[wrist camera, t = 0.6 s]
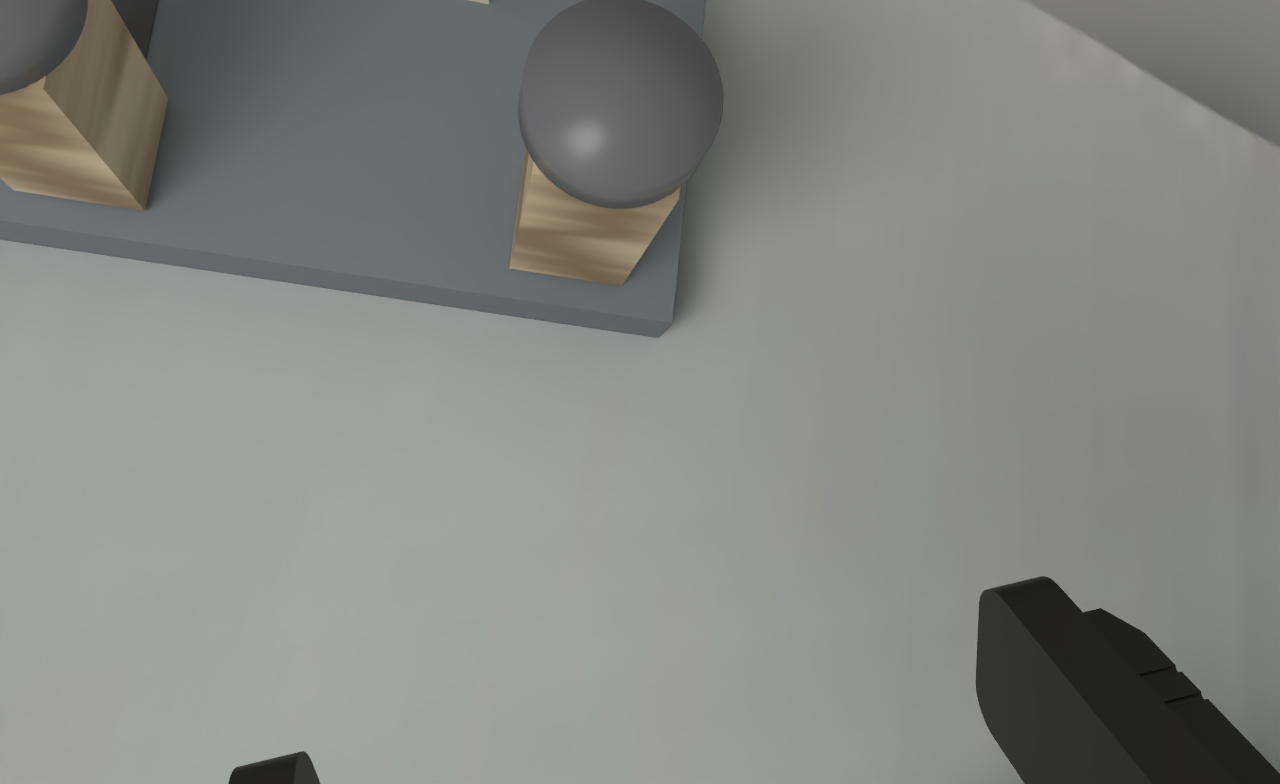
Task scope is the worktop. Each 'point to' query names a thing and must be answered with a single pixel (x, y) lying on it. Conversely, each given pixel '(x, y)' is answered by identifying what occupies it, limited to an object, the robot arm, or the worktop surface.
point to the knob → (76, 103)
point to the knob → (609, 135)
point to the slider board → (350, 157)
